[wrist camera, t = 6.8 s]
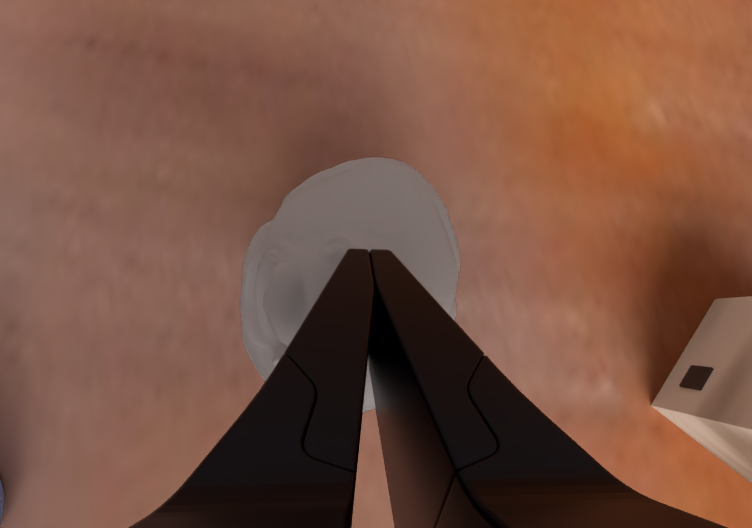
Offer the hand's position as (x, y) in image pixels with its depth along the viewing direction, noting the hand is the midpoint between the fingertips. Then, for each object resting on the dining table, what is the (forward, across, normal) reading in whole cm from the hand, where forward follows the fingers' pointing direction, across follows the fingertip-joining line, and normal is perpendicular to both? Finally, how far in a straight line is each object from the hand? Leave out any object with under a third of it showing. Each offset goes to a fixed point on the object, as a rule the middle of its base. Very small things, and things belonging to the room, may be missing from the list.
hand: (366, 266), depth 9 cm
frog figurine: (+5, 0, +5) cm, 7 cm away
